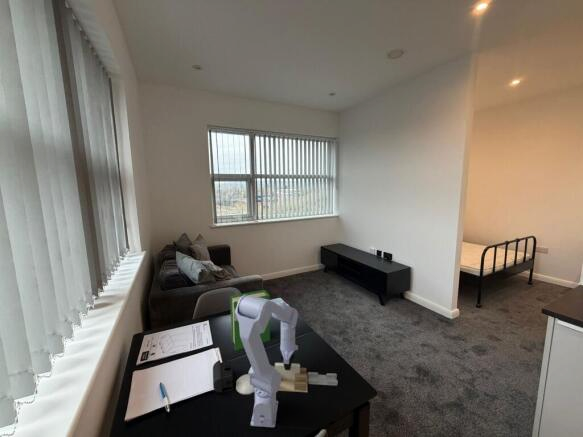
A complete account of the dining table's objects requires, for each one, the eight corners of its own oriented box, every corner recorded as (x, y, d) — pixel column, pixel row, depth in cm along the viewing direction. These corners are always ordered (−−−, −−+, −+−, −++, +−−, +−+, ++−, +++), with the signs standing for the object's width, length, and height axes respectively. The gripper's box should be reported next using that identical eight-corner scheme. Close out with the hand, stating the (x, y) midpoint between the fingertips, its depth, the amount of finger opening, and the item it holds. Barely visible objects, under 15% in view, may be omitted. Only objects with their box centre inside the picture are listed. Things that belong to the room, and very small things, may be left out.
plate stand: (337, 386, 95) (337, 382, 95) (307, 385, 96) (308, 381, 95) (336, 376, 100) (336, 372, 100) (307, 375, 101) (307, 371, 100)
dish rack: (307, 393, 92) (307, 385, 91) (265, 391, 93) (265, 382, 92) (307, 375, 101) (307, 367, 100) (269, 373, 102) (269, 365, 101)
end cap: (213, 376, 100) (212, 361, 99) (230, 372, 102) (230, 357, 101) (213, 396, 91) (212, 379, 90) (233, 391, 93) (232, 375, 92)
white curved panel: (299, 379, 98) (299, 366, 97) (274, 377, 98) (274, 365, 97) (299, 376, 99) (299, 363, 98) (275, 374, 100) (275, 362, 99)
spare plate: (256, 396, 91) (256, 393, 91) (232, 394, 92) (232, 391, 91) (261, 377, 100) (261, 374, 100) (239, 376, 101) (239, 373, 100)
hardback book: (235, 350, 116) (233, 302, 113) (231, 341, 122) (230, 296, 119) (269, 340, 123) (269, 295, 120) (264, 332, 130) (264, 289, 127)
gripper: (297, 348, 89) (296, 382, 91) (298, 326, 103) (298, 355, 105) (278, 347, 89) (278, 381, 91) (282, 325, 104) (282, 354, 105)
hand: (287, 367), depth 98 cm, fingers closed on white curved panel, 2 cm apart
